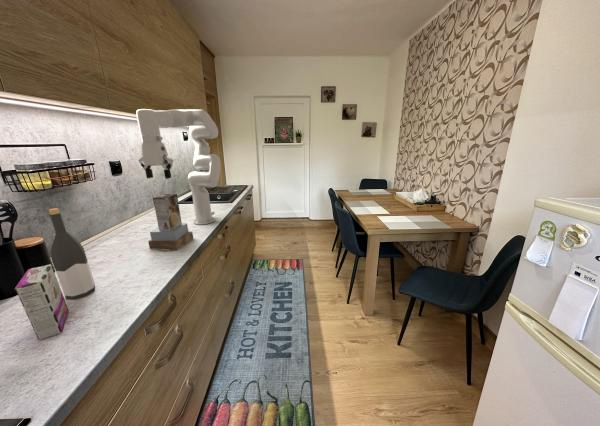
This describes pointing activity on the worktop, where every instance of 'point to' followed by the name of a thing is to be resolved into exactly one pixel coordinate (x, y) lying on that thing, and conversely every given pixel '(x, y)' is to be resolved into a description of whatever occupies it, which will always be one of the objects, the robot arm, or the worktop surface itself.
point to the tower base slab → (171, 242)
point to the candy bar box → (43, 301)
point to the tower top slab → (169, 233)
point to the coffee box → (167, 212)
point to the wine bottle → (70, 261)
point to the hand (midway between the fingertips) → (159, 178)
